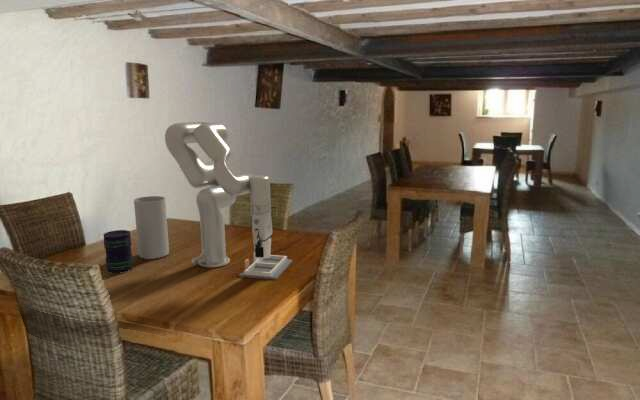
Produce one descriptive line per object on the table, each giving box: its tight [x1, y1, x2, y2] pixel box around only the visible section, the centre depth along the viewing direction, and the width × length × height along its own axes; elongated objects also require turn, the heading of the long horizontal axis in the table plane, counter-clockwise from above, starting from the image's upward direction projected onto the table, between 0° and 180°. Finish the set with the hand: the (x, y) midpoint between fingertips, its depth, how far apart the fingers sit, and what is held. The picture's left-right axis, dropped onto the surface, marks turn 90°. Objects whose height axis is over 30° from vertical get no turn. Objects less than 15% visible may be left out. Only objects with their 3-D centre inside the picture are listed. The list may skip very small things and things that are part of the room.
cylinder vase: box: [133, 195, 170, 260], centre depth 200 cm, size 12×12×25 cm
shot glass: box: [253, 236, 272, 259], centre depth 179 cm, size 7×7×7 cm
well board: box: [238, 252, 293, 281], centre depth 185 cm, size 21×15×5 cm
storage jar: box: [103, 229, 134, 274], centre depth 184 cm, size 10×10×15 cm
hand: (262, 253), depth 179 cm, fingers closed on shot glass, 6 cm apart
